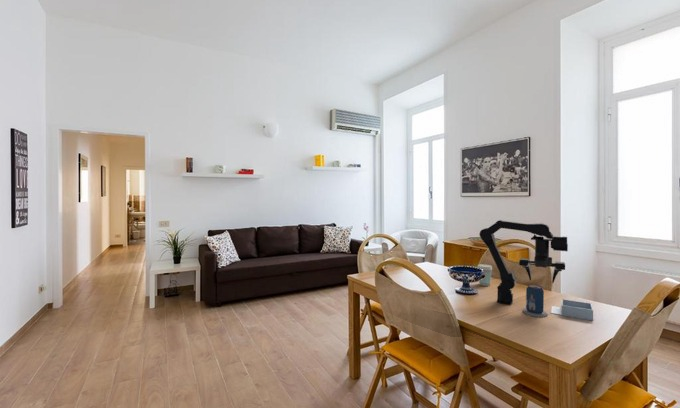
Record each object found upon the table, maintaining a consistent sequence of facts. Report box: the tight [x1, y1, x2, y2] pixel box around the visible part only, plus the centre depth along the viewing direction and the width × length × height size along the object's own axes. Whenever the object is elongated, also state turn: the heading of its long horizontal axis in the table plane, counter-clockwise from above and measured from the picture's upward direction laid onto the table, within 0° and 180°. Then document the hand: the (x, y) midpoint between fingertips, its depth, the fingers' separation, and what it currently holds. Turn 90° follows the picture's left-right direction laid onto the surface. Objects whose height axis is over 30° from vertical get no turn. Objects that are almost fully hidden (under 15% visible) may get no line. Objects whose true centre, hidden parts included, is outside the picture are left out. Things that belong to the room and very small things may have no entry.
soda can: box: [525, 284, 545, 314], centre depth 152 cm, size 7×7×12 cm
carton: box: [551, 298, 594, 321], centre depth 154 cm, size 15×15×4 cm
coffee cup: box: [477, 263, 493, 287], centre depth 201 cm, size 8×8×12 cm
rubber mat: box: [522, 308, 548, 318], centre depth 152 cm, size 10×10×1 cm
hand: (541, 281), depth 159 cm, fingers open, 9 cm apart
